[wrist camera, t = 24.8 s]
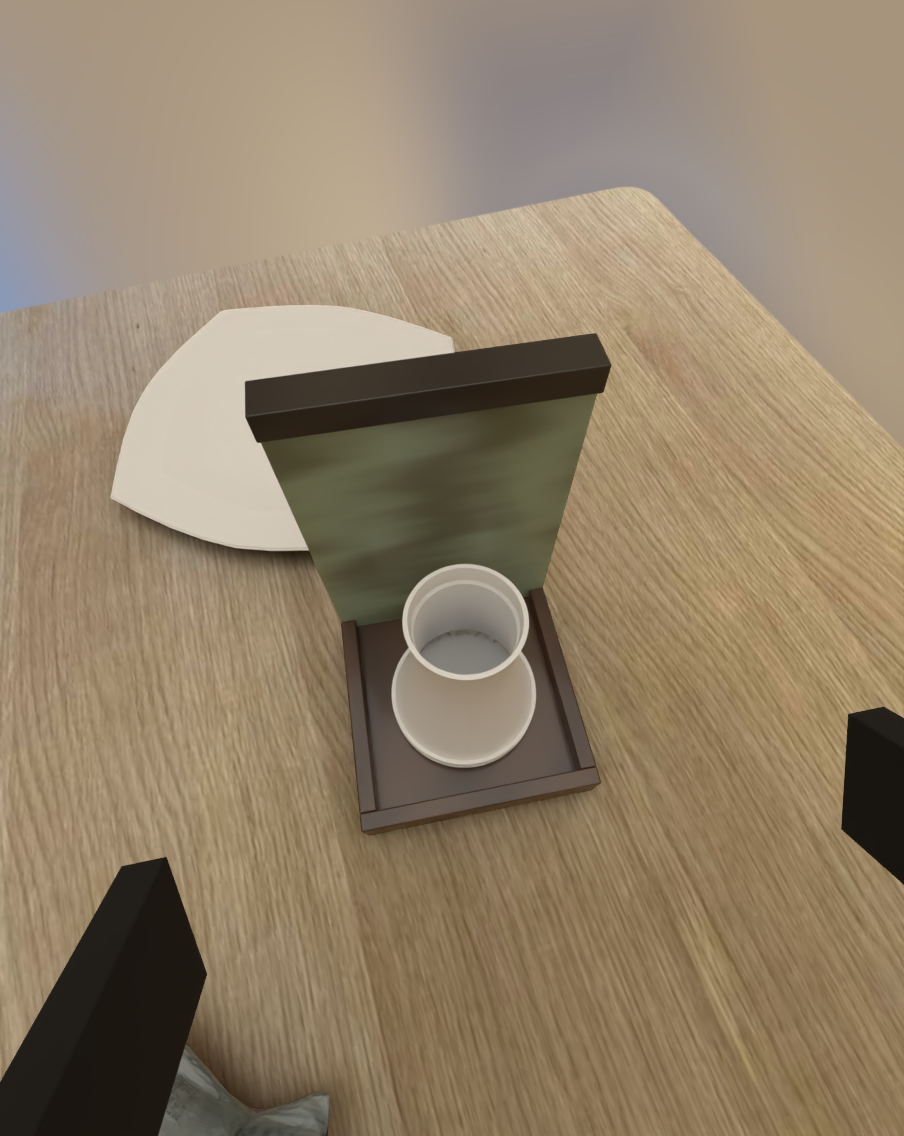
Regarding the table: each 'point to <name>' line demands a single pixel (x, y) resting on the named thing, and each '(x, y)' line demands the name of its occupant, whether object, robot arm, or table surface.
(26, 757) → the table surface
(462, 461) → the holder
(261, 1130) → the packaged food
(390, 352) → the plate
